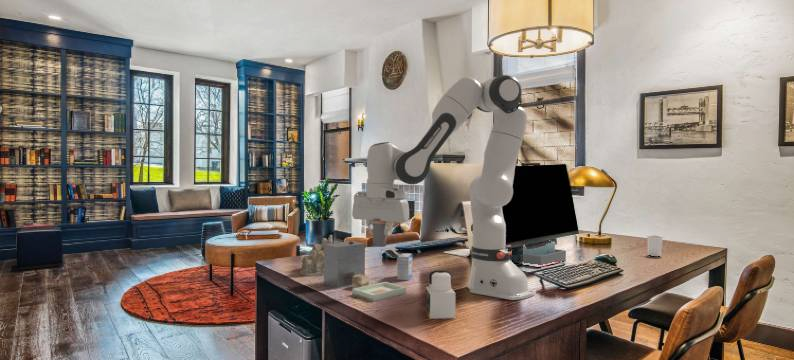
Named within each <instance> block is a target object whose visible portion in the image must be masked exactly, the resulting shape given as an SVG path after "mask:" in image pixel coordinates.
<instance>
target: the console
mask: <svg viewBox="0 0 794 360" xmlns="http://www.w3.org/2000/svg"><path fill="white" fill-rule="evenodd" d="M359 274H362V275H366V243H363V242H358V241H353V240H349V241H341V242H333V243H331V244H324V275H323V285H326V286H329V287H331V288H336V289H341V288H344V287H345V288H347V287H351V286H353V276H355V275H359Z"/></svg>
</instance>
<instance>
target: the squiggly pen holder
mask: <svg viewBox="0 0 794 360" xmlns="http://www.w3.org/2000/svg"><path fill="white" fill-rule="evenodd" d="M555 249H556V242H555V241H551V243H548V244H546V245H545V246H541V247H538V248H534V249H527V248H526V246H523V253H524V254H530V255H537V256H542V255H547V254H551V253H555Z"/></svg>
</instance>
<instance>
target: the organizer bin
mask: <svg viewBox="0 0 794 360" xmlns="http://www.w3.org/2000/svg"><path fill="white" fill-rule="evenodd" d="M566 255H567V250H563V249H558V248H557V249H556V248H555V253H551V254H547V255H542V256H537V255H530V254H524V253H523V262H524V263H530V264H538V265H543V264H548V263H552V262H561V261H567V258H566V257H567V256H566Z"/></svg>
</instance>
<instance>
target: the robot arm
mask: <svg viewBox="0 0 794 360" xmlns="http://www.w3.org/2000/svg"><path fill="white" fill-rule="evenodd" d="M522 102H523V100H522V86H521V84H520V81H519V80H518V79H517V78H516V77H514V76H513V75H509V74H500V75H499V76H494V77H491V78H489V79H487V80H485V81H483V82H479V81H478V80H476V78H473V77H471V76H463V77H461V78H460V79H458V80H457V81H456V82H455V83H454V84H453V85H451V87H449V89H447V90H446V92H445V93H444V94H443V96H442V97H441V98H440V99H439V101H438V102H437V103H436V105H435V107H434V109H433V110H432V113H431V120H432V121H431V125H430V127H429V129H428V130H427V132H426V133H425V134H424V136H423V137H422V138H421V139H420V141H418V143H417V145H416V146H415V147H414V148H412V149H410V150H409V151H405V150H403V149H401V148H399V147H397V146H396V145H394V144H393V143H392V142H389V141H384V142H378V143H374V144H372V145H371V146H370V147H369V148H368V151H367V156H366V157H367V159H366V172H367V179H366V191H357V192H356V193H355V194H354V195H353V205H352V210H351V211H352V213H351V214H352V215H351V216H352V218H353V219H354V220H365V225H366V226H367V229H368V234H369V235H373V218H375V219H380V220H381V221H387V224H386V230H384V235H386V237H387V236H391V230H392V229H393V227H394V225H395V223H407V222H408V221H409V220H410V206H409V201H408V200H407V198H408V192H407V191H406V190H403V189H400V188H398V187H396V186H395V180H396V181H397V180H398V181H400V182H403V183H405V184H406V185H418V184H419V183H422V182H423V181H424V180H425V179H426V178H427V176H428V174H429V171H430V168H431V167H430V166H431V164H432V161H433V159H434V157H435V155H436V154H437V153H438V152H439V150H440V149H441V147H442V146H443V145H444V143H446V141H447V140H448V139H449V137H450V136H452V134H454V133H455V132H456V131H457V130H458V129H459V128H460V127H461V126H463V124H464V123H465V122H466V121H467V119H468V118H469V117H470V116H471V114H473V112H474V111H475V110H479V111H481V112H484V113H491V112H492V113H493V125H492V127H491V128H492V129H491V130H490V133H489V137H488V141H487V143H486V147H485V149H484V155H483V165H482V171H481V174H480V175H478V176H476V177H475V178H474V179H473V180H472V181H471V183H470V185H469V189H468V191H469V198H470V210H471V219H472V220H471V221H472V246H471V248H470V249H471V250H470V251H471V254H470V255H471V270H470V277H469V280H468V283H467V286H466V287H467V289H469V293H470V294H471V293H472V294H476V295H482V296H487V297H494V298H498V299H505V300H510V301H517V300H518V301H519V300H523V299H524V300H525V299H527V298H531V297H533V296H534V295H535V294H536V292H535V289H532V288H529V286H528V278H527V276H526V273H525V272H523V270H522V269H520V268H519V267H518V266H517V264H514V263H513V262H512V259H511V257H510V256H512V250H511V251H508V249H507V247H506V243H507V242H506V239H507V238H506V237H507V234H506V233H507V228H506V227H507V225H506V221H505V218H504V213H503V207H504V206H507V205H508V203H510V202H511V201H512V198H513V195H514V188H513V185H514V179H515V173H516V172H515V171H516V170H515V169H516V166H517V165H516V164H517V160H518V157H519V154H520V151H521V146H522V144H523V140H524V137H525V134H526V133H525V132H526V127H527V120H528V114H527V111H526V110H525V109H524V108H523V107H522V106H521V105H522Z"/></svg>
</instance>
